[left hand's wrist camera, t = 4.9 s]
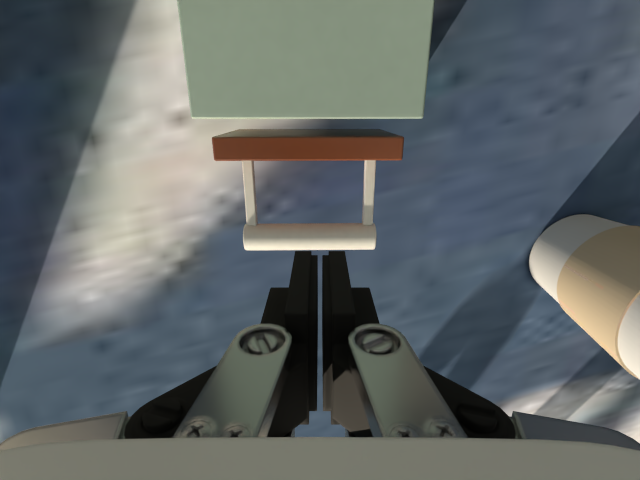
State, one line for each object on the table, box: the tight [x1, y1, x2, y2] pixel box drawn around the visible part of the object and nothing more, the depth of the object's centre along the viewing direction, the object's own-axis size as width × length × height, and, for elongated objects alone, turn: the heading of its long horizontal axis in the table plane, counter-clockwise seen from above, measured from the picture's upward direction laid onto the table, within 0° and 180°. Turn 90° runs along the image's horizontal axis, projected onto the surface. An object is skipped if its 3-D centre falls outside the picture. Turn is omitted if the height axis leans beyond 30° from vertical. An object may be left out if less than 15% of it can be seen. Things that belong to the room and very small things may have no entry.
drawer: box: [212, 129, 404, 250], centre depth 20 cm, size 24×10×7 cm, turn 0°
